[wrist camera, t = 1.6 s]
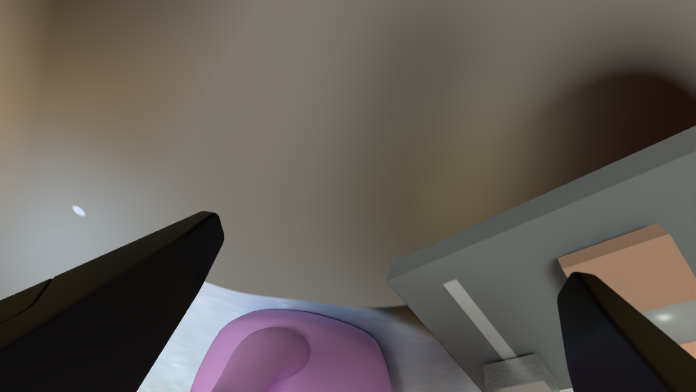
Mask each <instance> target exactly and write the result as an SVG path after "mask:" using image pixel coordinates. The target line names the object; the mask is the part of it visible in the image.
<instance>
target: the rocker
mask: <svg viewBox="0 0 696 392" xmlns="http://www.w3.org/2000/svg"><path fill="white" fill-rule="evenodd" d="M558 261H559V263H560V265H561V267H562V270H563V271H564V273H565V274H566V276H567V277H569V275H570V274H571V273H573V272H583V273H589V274H593V275H596V276H597V277H598V278H600V279H601V280H602V281H603V282H604V283H606V284H607V285H608V286H609V287H610V288H612V289H613V290H614V291H615V292H616V293H618V294H619V295H620V296H621V297H622V298H623V299H625V300H626V301H627V302H628V303H629V304H631V305H632V306H633V307H634V308H635V309H637V310H638V311H639V312H640V313H641V314H643V315H644V316H645V317H646V318H647V319H649V320H650V321H651V322H652V323H653V324H655V325H656V326H657V327H658V328H659V329H661V330H662V331H663V332H664V333H665V334H667V335H668V336H669V337H670V338H671V339H673V340H674V341H675V342H676V343H677V344H679V345H680V346H681V347H682V348H683V349H684V350H686V351H687V352H688V353H689V354H690V355H692V356H693V357H694V358H695V359H696V277H695V276H694V274H693V272H692V271H691V269H690V267H689V266H688V264H687V262H686V261H685V259H684V257H683V256H682V254H681V252H680V250H679V249H678V247H677V245H676V244H675V242H674V240H673V239H672V237H671V235H670V234H669V233H668V232H667V231H666V230H664V229H663V228H662V227H661V226H660V225H658V224H654V225H651V226H648V227H645V228H642V229H639V230H637V231H634V232H631V233H628V234H625V235H622V236H620V237H617V238H614V239H611V240H608V241H605V242H602V243H600V244H597V245H594V246H591V247H588V248H585V249H582V250H580V251H577V252H574V253H571V254H568V255H565V256H562V257H560V258H558Z"/></svg>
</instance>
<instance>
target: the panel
mask: <svg viewBox="0 0 696 392" xmlns="http://www.w3.org/2000/svg"><path fill="white" fill-rule="evenodd" d="M654 224H658V225H660V226H661V227H662V228H663V229H664V230H666V231H667V232H668V233H669V234H670V235H671V237H672V239H673V240H674V242H675V244H676V245H677V247H678V249H679V250H680V252H681V254H682V256H683V257H684V259H685V261H686V262H687V264H688V266H689V267H690V269H691V271H692V272H693V274H694V276H695V277H696V126H694V127H692V128H690V129H688V130H685V131H683V132H681V133H679V134H677V135H674V136H672V137H670V138H668V139H665V140H663V141H661V142H659V143H656V144H654V145H652V146H650V147H648V148H645V149H644V150H641V151H639V152H636V153H635V154H632V155H630V156H628V157H625V158H623V159H621V160H619V161H617V162H614V163H612V164H610V165H608V166H605V167H603V168H601V169H599V170H597V171H594V172H592V173H590V174H588V175H586V176H583V177H581V178H579V179H577V180H574V181H572V182H570V183H568V184H566V185H563V186H561V187H559V188H557V189H554V190H552V191H550V192H548V193H546V194H543V195H541V196H539V197H537V198H534V199H532V200H530V201H528V202H526V203H523V204H521V205H519V206H517V207H514V208H512V209H510V210H508V211H505V212H503V213H501V214H499V215H497V216H494V217H492V218H490V219H488V220H486V221H483V222H481V223H479V224H477V225H474V226H472V227H470V228H468V229H465V230H463V231H461V232H459V233H457V234H454V235H452V236H450V237H448V238H445V239H443V240H441V241H439V242H437V243H434V244H432V245H430V246H428V247H425V248H423V249H421V250H419V251H417V252H415V253H412V254H410V255H408V256H405V257H403V258H401V259H399V260H397V261H395V262H392V263H390V267H389V271H388V276H387V282H388V283H389V285H390V286H391V287H392V288H393V289H394V290H395V291H396V293H397V294H398V295H399V296H400V297H401V298H402V300H403V301H404V302H405V303H406V304H407V305H408V307H409V308H410V309H411V310H412V311H413V312H414V313H415V315H416V316H417V317H418V318H419V319H420V320H421V322H422V323H423V324H424V325H425V326H426V327H427V328H428V330H429V331H430V332H431V333H432V334H433V335H434V337H435V338H436V339H437V340H438V341H439V342H440V343H441V345H442V346H443V347H444V348H445V349H446V350H447V352H448V353H449V354H450V355H451V356H452V357H453V358H454V360H455V361H456V362H457V363H458V364H459V365H460V367H461V368H462V369H463V370H464V371H465V372H466V373H467V375H468V376H469V377H470V378H471V379H472V380H473V382H474V383H475V384H476V385H477V386H478V387H479V388H480V390H481V391H482V392H486V386H485V378H484V370H483V365H487V364H491V363H496V362H501V361H505V360H510V359H514V358H519V357H523V356H528V355H532V354H537V355H538V356H539V358H540V359H541V360H542V362H543V363H544V364H545V366H546V367H547V368H548V370H549V371H550V372H551V374H552V375H553V376H554V377H555V379H556V381H557V384H558V388H559V390H562V389H568V388H573V387H572V384H571V380H570V376H569V372H568V368H567V363H566V358H565V351H564V345H563V338H562V332H561V326H560V319H559V313H558V306H557V297H558V294H559V292H560V290H561V289H562V287H563V285H564V284H565V282H566V280H567V279H568V277H567V276H566V274H565V273H564V271H563V270H562V267H561V265H560V263H559V261H558V258H560V257H562V256H565V255H568V254H571V253H574V252H577V251H580V250H582V249H585V248H588V247H591V246H594V245H597V244H600V243H602V242H605V241H608V240H611V239H614V238H617V237H620V236H622V235H625V234H628V233H631V232H634V231H637V230H639V229H642V228H645V227H648V226H651V225H654Z"/></svg>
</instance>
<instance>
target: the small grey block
mask: <svg viewBox="0 0 696 392" xmlns="http://www.w3.org/2000/svg"><path fill="white" fill-rule="evenodd" d="M483 370H484V378H485V386H486V392H560V391H559V388H558V384H557V381H556V379H555V377H554V376H553V375H552V374H551V372H550V371H549V370H548V368H547V367H546V366H545V364H544V363H543V362H542V360H541V359H540V358H539V356H538V355H537V354H532V355H528V356H523V357H519V358H514V359H510V360H505V361H501V362H496V363H491V364H487V365H483Z"/></svg>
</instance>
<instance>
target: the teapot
mask: <svg viewBox="0 0 696 392" xmlns="http://www.w3.org/2000/svg"><path fill="white" fill-rule="evenodd" d="M190 392H392V386H391V381H390V376H389V372H388V369H387V366H386V363H385V359H384V357H383V354H382V352H381V350H380V347H379V346H378V344H377V342H376V341H375V340H374V339H373V338H372V337H371V336H370V335H369V334H367V333H366V332H364V331H362V330H361V329H359V328H357V327H354V326H352V325H349V324H347V323H344V322H341V321H338V320H335V319H331V318H328V317H325V316H321V315H317V314H313V313H308V312H302V311H294V310H259V311H253V312H250V313H248V314H245V315H243V316H240V317H238V318H237V319H235V320H233V321H231V322H229V323H228V324H227V325H226V326H225V327H224V328H222V329H221V330H220V332H219V333H218V335H217V336H216V338H215V339H214V341H213V342H212V344H211V346H210V348H209V350H208V352H207V353H206V355H205V357H204V359H203V361H202V363H201V365H200V367H199V370H198V372H197V374H196V377H195V380H194V382H193V385H192V387H191V391H190Z"/></svg>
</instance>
